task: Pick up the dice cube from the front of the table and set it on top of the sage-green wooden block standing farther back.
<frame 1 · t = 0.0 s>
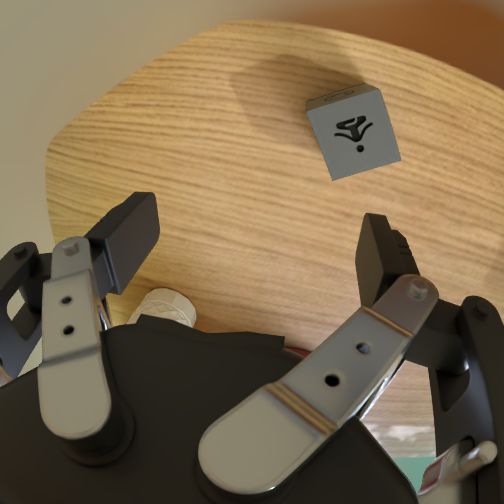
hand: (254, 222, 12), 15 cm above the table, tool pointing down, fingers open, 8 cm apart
dice cube: (347, 120, 23), on the table
white cup: (171, 307, 38), on the table
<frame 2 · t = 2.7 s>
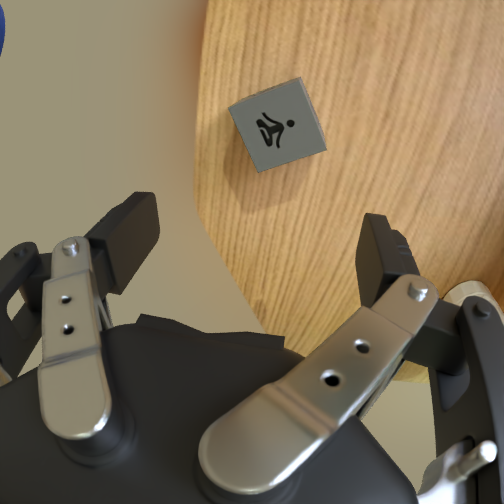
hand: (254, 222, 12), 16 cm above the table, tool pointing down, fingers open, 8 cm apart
dice cube: (283, 114, 24), on the table
white cup: (463, 300, 31), on the table
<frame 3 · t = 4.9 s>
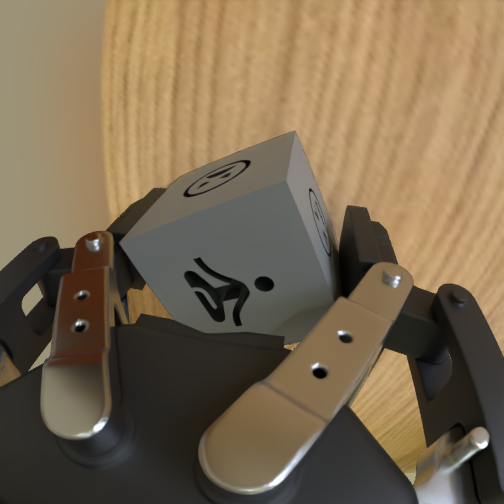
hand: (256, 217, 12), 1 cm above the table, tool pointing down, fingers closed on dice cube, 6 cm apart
dice cube: (260, 206, 13), on the table, touching gripper
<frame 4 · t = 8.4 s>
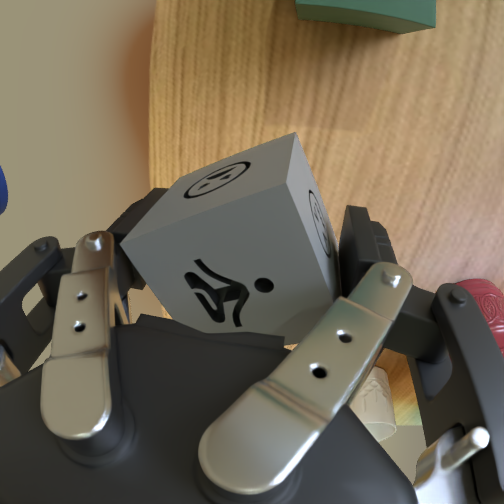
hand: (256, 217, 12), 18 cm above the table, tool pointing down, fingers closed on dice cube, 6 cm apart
dice cube: (260, 207, 13), point 17 cm above the table, touching gripper
kitchen canister: (460, 312, 36), on the table
white cup: (366, 377, 45), on the table
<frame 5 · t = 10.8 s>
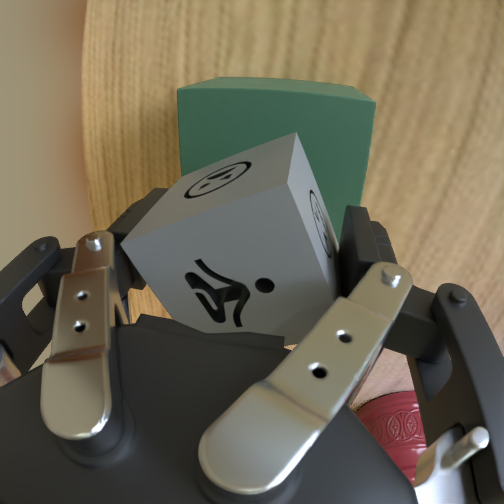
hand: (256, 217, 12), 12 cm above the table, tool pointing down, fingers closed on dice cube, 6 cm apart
dice cube: (261, 207, 13), point 11 cm above the table, touching gripper
kitchen canister: (396, 410, 39), on the table
green block: (282, 140, 22), on the table
when the fingers open (9 cm above the table, at t = 12.2 s): dice cube stays where it is, resting on green block.
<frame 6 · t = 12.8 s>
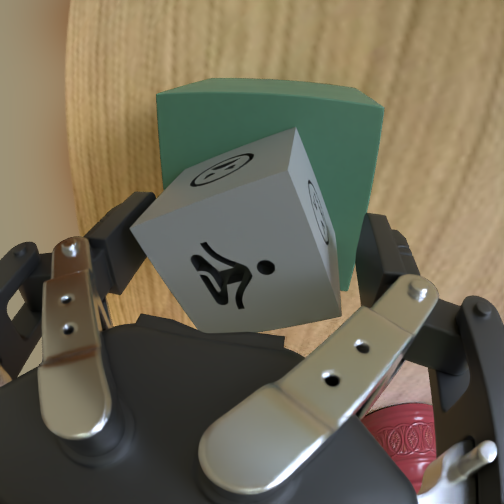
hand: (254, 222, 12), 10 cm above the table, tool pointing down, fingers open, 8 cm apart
dice cube: (261, 199, 14), point 8 cm above the table, touching green block
kitchen canister: (397, 421, 38), on the table
green block: (279, 147, 20), on the table
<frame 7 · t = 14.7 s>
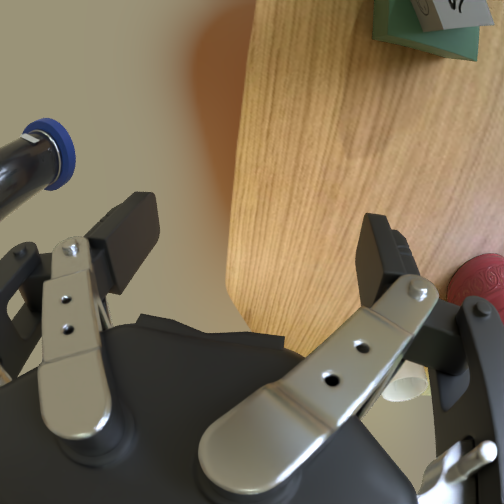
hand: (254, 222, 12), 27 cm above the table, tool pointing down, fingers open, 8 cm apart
dice cube: (436, 4, 17), point 8 cm above the table, touching green block
kitchen canister: (479, 283, 41), on the table
green block: (412, 12, 24), on the table
white cup: (398, 342, 52), on the table
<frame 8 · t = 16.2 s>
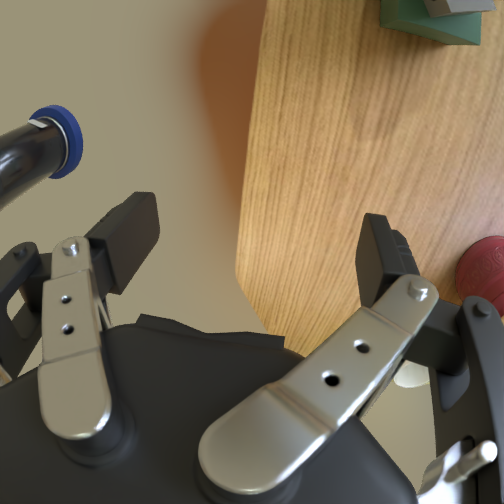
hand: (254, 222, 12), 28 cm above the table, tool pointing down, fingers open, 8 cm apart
kitchen canister: (486, 267, 42), on the table
green block: (417, 2, 24), on the table
white cup: (407, 328, 51), on the table
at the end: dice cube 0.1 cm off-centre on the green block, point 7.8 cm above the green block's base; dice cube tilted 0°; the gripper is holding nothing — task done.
